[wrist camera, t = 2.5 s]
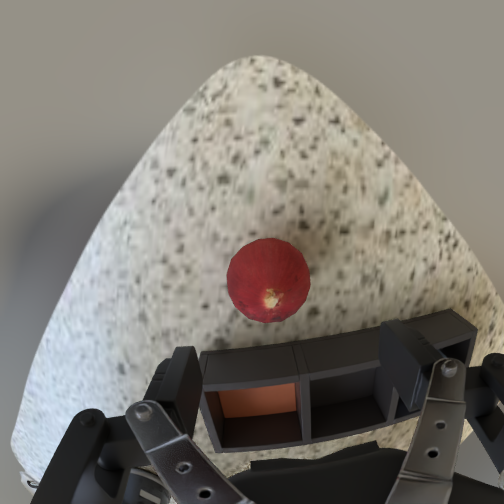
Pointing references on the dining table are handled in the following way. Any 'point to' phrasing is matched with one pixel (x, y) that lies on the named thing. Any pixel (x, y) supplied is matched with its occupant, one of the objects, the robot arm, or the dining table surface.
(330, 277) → the dining table surface
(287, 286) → the onion
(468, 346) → the holder
